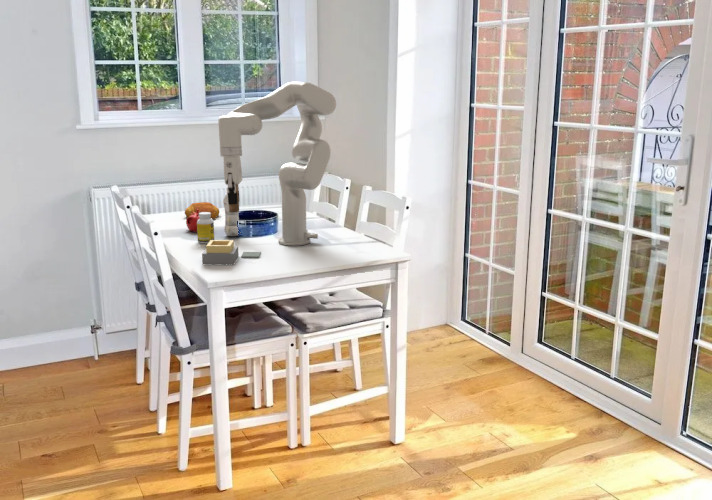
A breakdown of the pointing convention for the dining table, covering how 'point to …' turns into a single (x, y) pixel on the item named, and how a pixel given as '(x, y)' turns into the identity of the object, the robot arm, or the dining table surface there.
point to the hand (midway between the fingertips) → (233, 202)
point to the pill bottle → (205, 228)
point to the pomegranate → (193, 221)
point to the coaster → (251, 255)
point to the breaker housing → (220, 252)
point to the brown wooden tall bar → (234, 206)
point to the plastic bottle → (230, 219)
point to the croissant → (202, 209)
